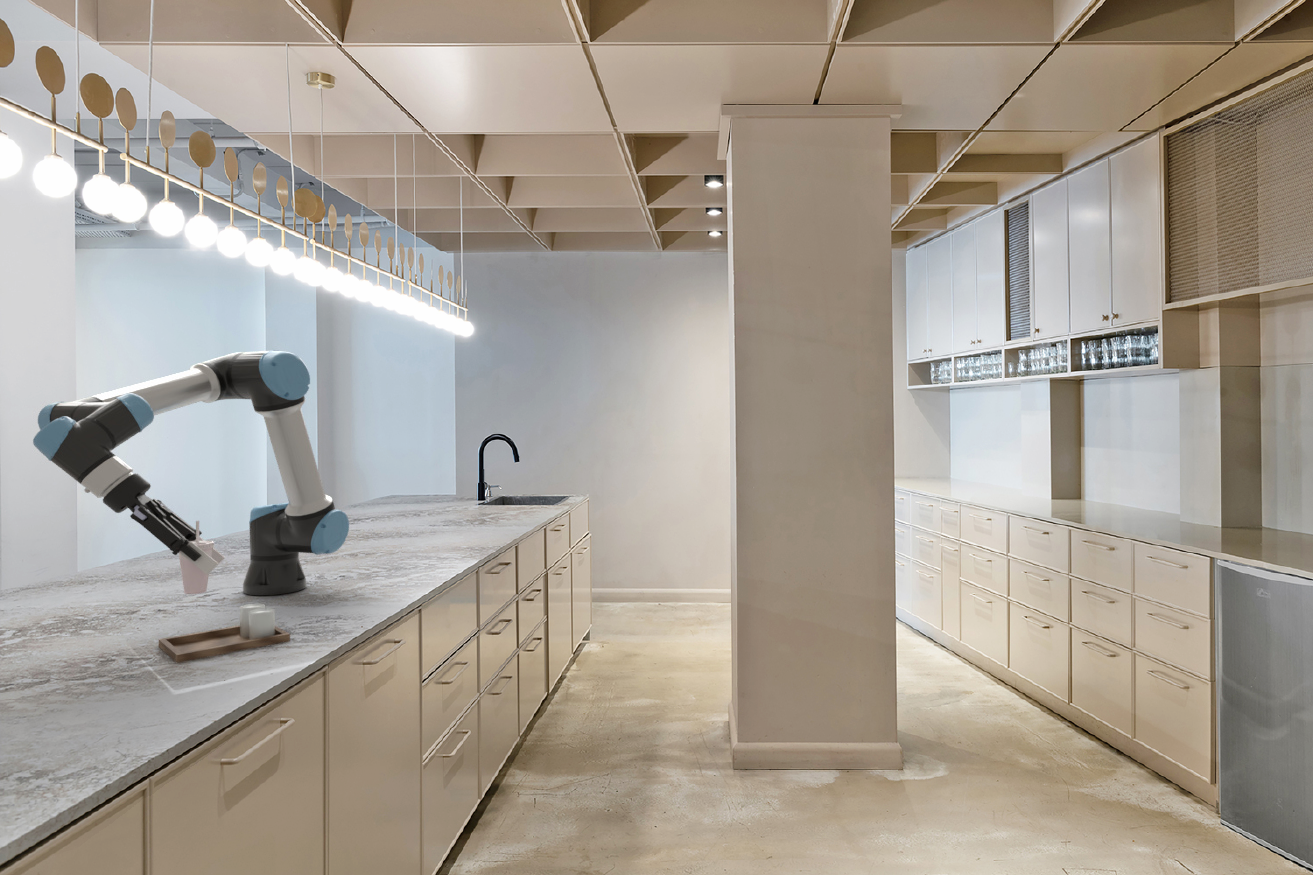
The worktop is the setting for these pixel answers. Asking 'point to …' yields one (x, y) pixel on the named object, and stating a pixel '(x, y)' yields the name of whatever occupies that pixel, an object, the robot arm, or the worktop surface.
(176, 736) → the worktop surface
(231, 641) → the tray
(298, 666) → the worktop surface
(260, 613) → the white domed cylinder
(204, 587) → the smoothie
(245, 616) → the white rounded cylinder
